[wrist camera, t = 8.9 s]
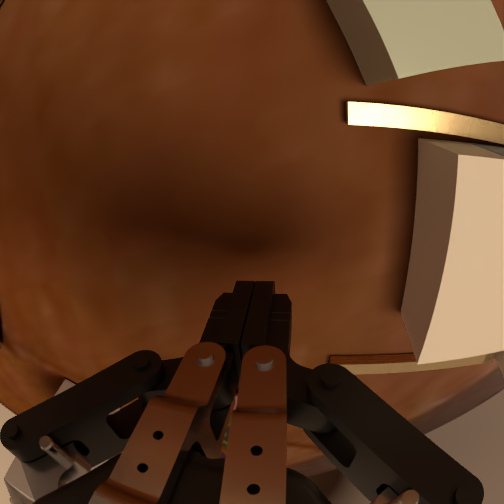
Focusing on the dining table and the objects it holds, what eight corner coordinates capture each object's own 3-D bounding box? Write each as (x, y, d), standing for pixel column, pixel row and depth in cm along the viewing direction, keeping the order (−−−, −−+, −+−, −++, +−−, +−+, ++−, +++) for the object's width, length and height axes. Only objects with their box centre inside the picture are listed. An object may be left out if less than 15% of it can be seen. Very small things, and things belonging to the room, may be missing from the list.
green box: (320, -8, 10) (328, -56, 5) (413, -24, 8) (453, -63, 4) (365, 85, 11) (398, 78, 7) (455, 65, 10) (514, 59, 6)
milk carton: (120, 405, 27) (52, 549, 11) (122, 430, 31) (68, 550, 14) (65, 376, 27) (-12, 505, 11) (74, 405, 31) (13, 516, 14)
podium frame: (345, 101, 12) (348, 101, 11) (550, 139, 10) (558, 141, 9) (328, 365, 19) (328, 374, 19) (488, 354, 17) (491, 361, 16)
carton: (416, 136, 12) (458, 153, 8) (531, 150, 11) (581, 172, 7) (399, 310, 17) (416, 365, 13) (500, 300, 15) (528, 345, 11)
